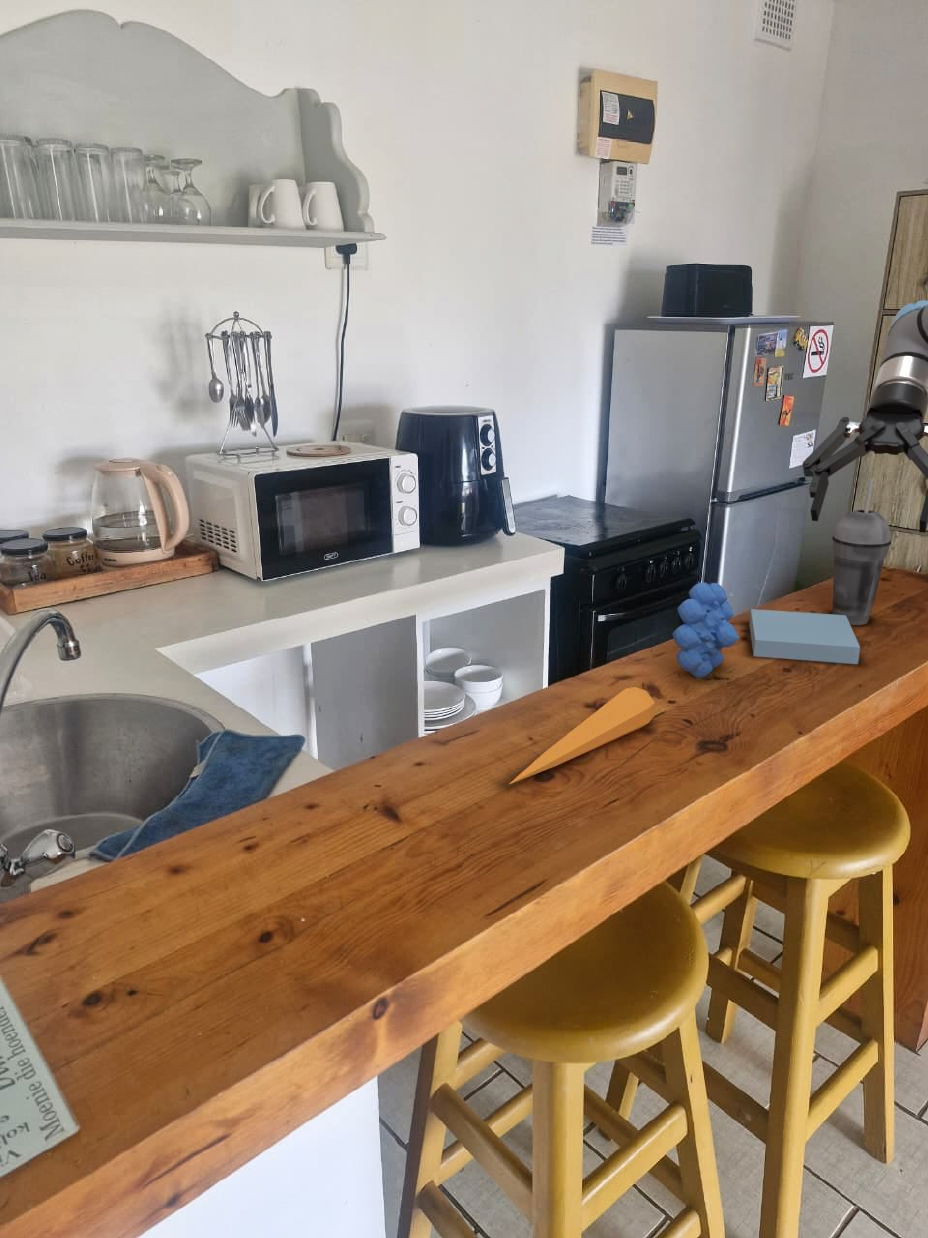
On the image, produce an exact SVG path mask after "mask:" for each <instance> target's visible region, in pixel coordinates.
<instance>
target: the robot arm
mask: <svg viewBox="0 0 928 1238" xmlns="http://www.w3.org/2000/svg"><path fill="white" fill-rule="evenodd" d="M868 403H869V404H868V407H867V411H866V414H865V417H864V419H863V420H862V421H861V422H858V421H850V418H849V417H848V416H842V417H841V418H840V419H839V421H838V424H837V426H836V428H835V429H834V430H833V431H832V432H831V433H830V434H829V435H828V436H827V437H826V439H824V440H823V441H822V442H821V443H820V445H818V446H817V447H816V449H814V450H813V451H812V453H810V454H809V455H808V457H806V458H805V459H804V460H803V462H802V470H803V475H804V477H807V478H809V477H811V481H810V484H809V487H808V493H809V498H810V499H813V500H812V503H811V507H810V516H811V522H818V521H819V518H820V515H821V511H822V507H823V504H824V501H825V498H826V495H827V491H828V487H829V484H830V483H829V478H830V477H831V476H833V475H834V474H835V473H837V472H839V471H840V470H842V469H843V468H845V467H846V466H848V465H849V464H851V463H853V462H854V461H855V460H857V459H858V458H860V457H861V458H863V457H864V456H867V455H868V454H869V453H871V452H873V453H874V455H875V454H876V455H882V454H888V455H892V456H899V454H904V455H905V457H907V459H908V460H909V461H911V462H912V463H913V464H914V465H915V466H916V467H917V469H918V470H919V471H920V472H921V473H922V474H923V476H924V477H925V478H926V479H927V480H928V452H927V451H926V450H925V449H924V448H923V446H922V445H921V443H920V441H921V440H922V439H923V438H924V437H927V438H928V425H925V424H924V422H925V418H926V415H927V410H928V300H926V299H924V300H917V301H916V302H910V303H907V304H906V305H904V306H903V307H901V308H900V309H899V310H898V311H897V313H896V314H895V317H894V319H893V322H892V324H891V326H890V328H889V330H888V333H887V338H886V343H885V346H884V351H883V355H882V358H881V363H880V366H879V369H878V372H877V376H876V378H875V383H874V386H873V390H872V394H871V397H870V400H869V402H868ZM856 433H858V434H859V435H857V436H856V437H855V438H854V440H853V441H851V442H850V443H849V444H847V445H846V446H844V447H842V448H841V449H839V448H840V447H841V446H843V444H844V443H845V442H846V440H847V439H851V438H852V436H854V434H856ZM837 450H838V451H837ZM920 513H921V514H920V517H919V521H918V522H919V526H918V527H919V528H918V532H919V533H924V534H926V532H927V528H928V488H927V490H926V493H925V497H924V501H923V505H922V509H921V512H920Z"/></svg>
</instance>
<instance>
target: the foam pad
mask: <svg viewBox="0 0 928 1238" xmlns="http://www.w3.org/2000/svg"><path fill="white" fill-rule="evenodd" d="M748 623H749V624H748V625H749V632H750V640H751V648H752V654H753V655H752V656H753V657H758V658H759V657H760V658H770V659H771V658H774V659H785V660H787V659H788V660H799V661H810V662H823V663H836V664H848V665H849V664H850V665H858V664H859V659H860V653H861V646H860V643H859V641H858V639H857V637H856V634H855V633H854V629H853V628H852V626H851V625H850V623H849V621H848V619H847V617H846V615H833V613H831V614H829V613H818V612H817V613H816V612H801V611H800V612H799V611H785V610H769V609H755V608H754V609H753V608H751V609H750V614H749V622H748Z"/></svg>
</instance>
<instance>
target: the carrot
mask: <svg viewBox="0 0 928 1238" xmlns="http://www.w3.org/2000/svg"><path fill="white" fill-rule="evenodd" d="M655 716H656V702H655V701H654V699H653V698H652V697H651V695H650V694H649V692H648V691H647V690H646V689H643V688H639V687H637V686H632V687H628V688H627V687H626V688H625V689H623V690H621V691H620V692H619V693H618V694H616V695H615V696H614V697H613V698H612V699H610V700H608V702H607V703H605V704H603V706H601V707H599V709H597V710H596V711H594V712H593V713H592V714H591V715H590V716H588V717H587V718H586V719H585V720H583V721H582V722H581V723H580V724H578V725H577V726H576V727H574V728H573V729H572V730H571V731H570V732H568V733H567V734H566V735H564V736H563V737H562V738H561V739H559V740H558V741H557V742H555V743H554V744H553V745H552V746H550V747H549V748H548V749H546V750H545V751H544V752H542V754H540V755H539V757H537V758H536V759H535V760H534V761H533V762H532V763H530V764H529V765H528V766H527V767H526V768H525V769H524V770H523V771H522V772H520V773H519V774H518V775H517V776H516V777H515V778H514V779H513V780H512V781H510V782H509V785H510V784H513V783H517V782H519V781H521V780H525V779H527V778H530V777H532V776H534V775H537V774H540V773H542V772H544V771H547V770H550V769H552V768H555V767H557V766H559V765H562V764H564V763H566V762H569V761H570V760H573V759H575V758H577V757H580V756H582V755H584V754H586V753H588V752H590V751H593V750H595V749H598V748H600V747H602V746H604V745H606V744H608V743H611V742H613V741H615V740H617V739H620V738H622V737H624V736H626V735H628V734H631V733H634V732H636V731H638V730H640V729H642V728H643V727H645V726H646V725H648V724H649V723H650V722H651V721H652V720H653V718H654V717H655Z"/></svg>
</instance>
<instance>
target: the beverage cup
mask: <svg viewBox="0 0 928 1238" xmlns="http://www.w3.org/2000/svg"><path fill="white" fill-rule="evenodd" d="M874 480H875V478H874V477H870V478H869V480H868V486H867V492H866V499H865V503H864V509H856V510H853V511H851V512H849V513H847V514H845V515H844V516H843V517H842V518H841V519H840V520H839V522H838V523H837V525H836V526H835V530H834V533H833V535H832V537H831V540H832V550H833V551H832V552H833V555H834V556H833V579H832V580H833V581H832V582H833V583H832V606H831V607H832V608H831V609H832V614H833V615H846V617H847V619H848V621H849V623H850V626H851V625H852V626H861V625H866V624H867V623H869V620H870V618H871V617H870V616H871V614H872V611H873V606H874V603H875V599H876V594H877V590H878V586H879V582H880V578H881V574H882V570H883V566H884V561H885V559H886V558H887V555H888V552H889V550H890V546H891V545H892V539H891V538H892V537H891V536H892V535H891V529H890V525H889V523H888V522H887V520H886V519H885V517H884V516H883V515H881V514H880V513H878V512H876V511H874V510H871V509H870V506H871V505H870V504H871V498H872V491H873V485H874Z"/></svg>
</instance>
